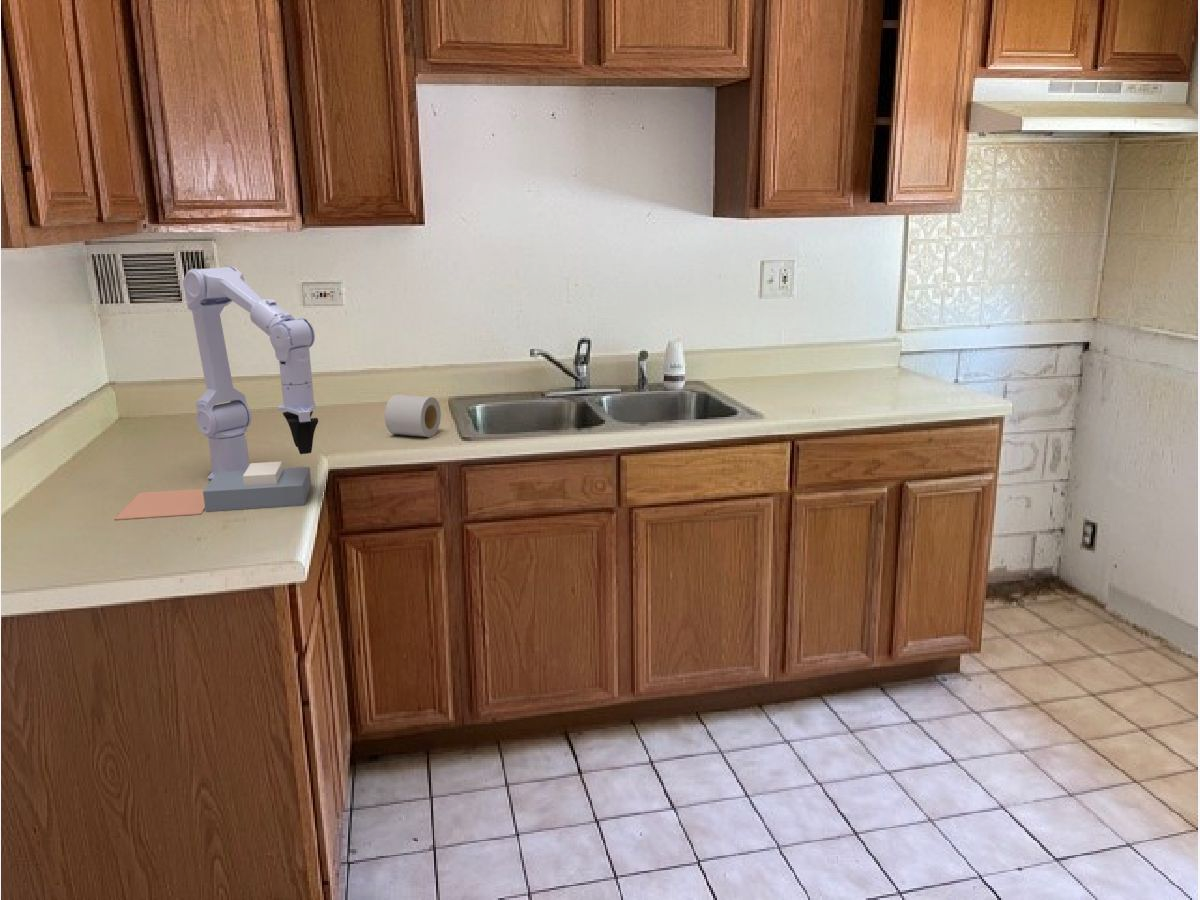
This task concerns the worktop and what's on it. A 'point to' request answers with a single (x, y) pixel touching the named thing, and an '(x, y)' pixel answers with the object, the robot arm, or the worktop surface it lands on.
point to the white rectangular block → (262, 473)
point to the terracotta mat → (164, 504)
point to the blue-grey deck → (257, 491)
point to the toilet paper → (412, 415)
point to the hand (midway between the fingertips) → (303, 449)
